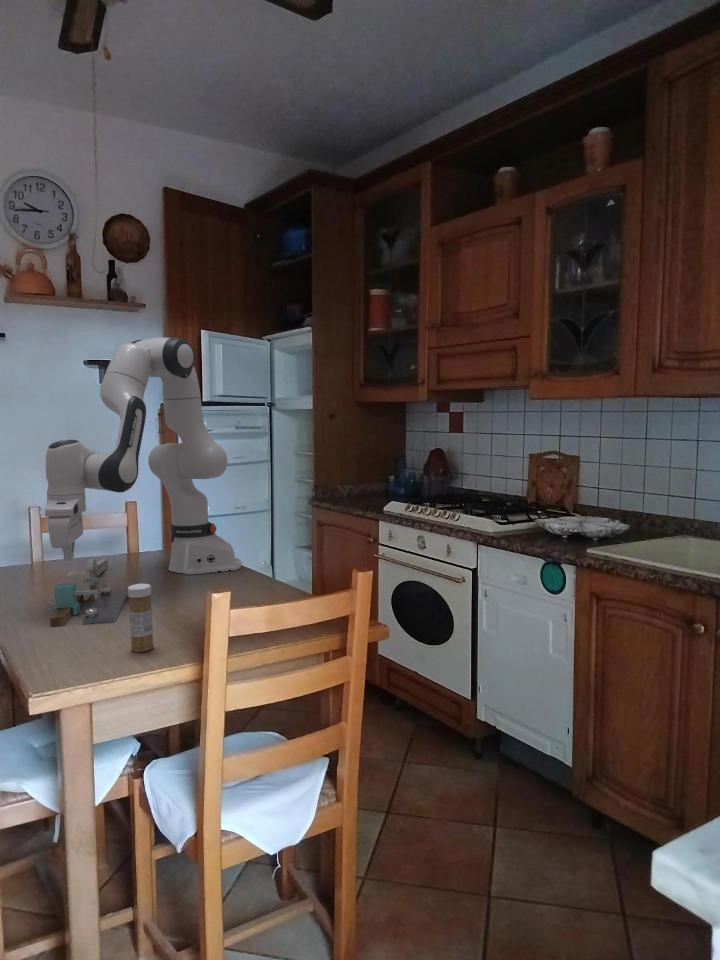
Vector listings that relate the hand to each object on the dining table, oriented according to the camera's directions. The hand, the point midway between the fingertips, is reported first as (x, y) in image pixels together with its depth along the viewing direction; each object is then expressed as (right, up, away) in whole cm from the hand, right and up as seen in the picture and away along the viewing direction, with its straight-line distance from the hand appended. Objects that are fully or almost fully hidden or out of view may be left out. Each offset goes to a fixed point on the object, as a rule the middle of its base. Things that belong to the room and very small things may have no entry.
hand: (69, 559), depth 172 cm
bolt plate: (+10, -12, -1) cm, 16 cm away
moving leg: (+4, -12, -5) cm, 14 cm away
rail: (+1, -12, -3) cm, 13 cm away
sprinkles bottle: (+28, -15, -31) cm, 44 cm away
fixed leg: (+2, -11, +8) cm, 14 cm away
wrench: (-4, -9, +30) cm, 32 cm away
